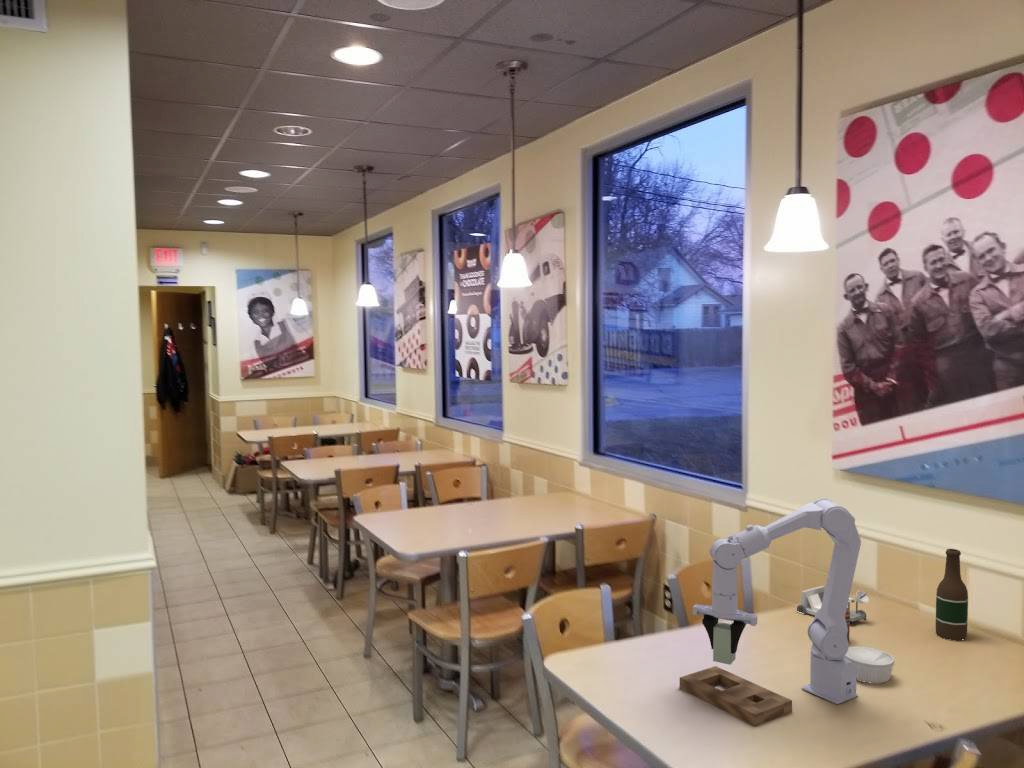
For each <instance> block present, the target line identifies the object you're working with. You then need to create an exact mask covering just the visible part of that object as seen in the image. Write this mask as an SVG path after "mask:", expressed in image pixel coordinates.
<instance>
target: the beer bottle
mask: <svg viewBox="0 0 1024 768" xmlns="http://www.w3.org/2000/svg"><path fill="white" fill-rule="evenodd" d="M961 555H962V554H961V551H960V549H959V550H958V549H956V548H947V549H946V551H945V556H946V560H945V569H944V575H943V578H942V580H941V581H940V582H939V583H938V586H937V588H936V596H935V599H936V600H935V602H936V603H935V634H937V635H936V636H938V637H939V636H940V638H941V637H942V638H941V639H943V638H945V639H944V640H947V639H951V640H950V641H952V640H962V639H965V640H966V639H967V637H966V636H968V617H969V616H968V615H969V613H968V611H969V609H968V608H969V593H968V589H967V586H966V584H965V583H964V581H963V580H962V575H961Z"/></svg>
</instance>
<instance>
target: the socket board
mask: <svg viewBox="0 0 1024 768" xmlns="http://www.w3.org/2000/svg"><path fill="white" fill-rule="evenodd" d="M718 685H719V686H722V687H724V688H725V689H723V690H720V689H719V688H717V687H716V686H718ZM726 687H727V688H726ZM679 689H681V690H683V691H685V692H686V693H688V694H691V695H692V696H695V697H697V698H698V699H701V700H703V701H704V702H707V703H708V704H710V705H712V706H715V707H716V708H719V709H720V710H722V711H725V712H726V713H728V714H730V715H732V716H734V717H736V718H738V719H740V720H741V721H744V722H746V723H748V724H750V725H752V726H754V727H757V726H759V725H763V724H764V723H767V722H769V721H772V720H774V719H776V718H780V717H782V716H785V715H788V714H789V713H792V712H793V699H790V698H787V697H786V696H783V695H782V694H779V693H776V692H774V691H772V690H770V689H767V688H765V687H763V686H761V685H758V684H756V683H754V682H752V681H750V680H747V679H745V678H743V677H741V676H738V675H736V674H734V673H733V672H729V671H728V670H725V669H723V668H722V667H719V666H717V665H715V666H712V667H709V668H705V669H702V670H698V671H696V672H693V673H689V674H686V675H683V676H681V677H679Z"/></svg>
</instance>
